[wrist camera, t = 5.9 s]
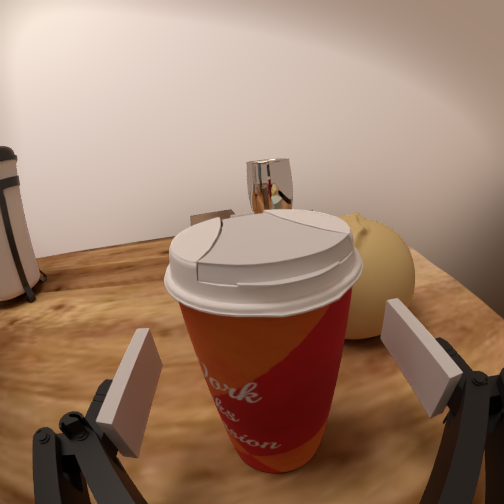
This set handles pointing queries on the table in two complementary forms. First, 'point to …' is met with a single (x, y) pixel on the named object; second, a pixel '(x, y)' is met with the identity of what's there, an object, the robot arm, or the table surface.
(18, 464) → the table surface
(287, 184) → the beer glass
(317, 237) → the paper cup
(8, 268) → the coffee press
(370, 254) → the sculpture
